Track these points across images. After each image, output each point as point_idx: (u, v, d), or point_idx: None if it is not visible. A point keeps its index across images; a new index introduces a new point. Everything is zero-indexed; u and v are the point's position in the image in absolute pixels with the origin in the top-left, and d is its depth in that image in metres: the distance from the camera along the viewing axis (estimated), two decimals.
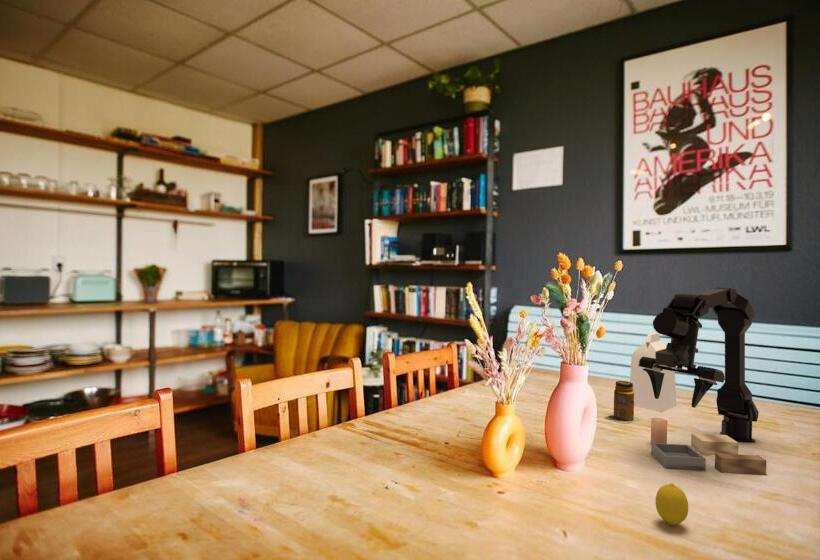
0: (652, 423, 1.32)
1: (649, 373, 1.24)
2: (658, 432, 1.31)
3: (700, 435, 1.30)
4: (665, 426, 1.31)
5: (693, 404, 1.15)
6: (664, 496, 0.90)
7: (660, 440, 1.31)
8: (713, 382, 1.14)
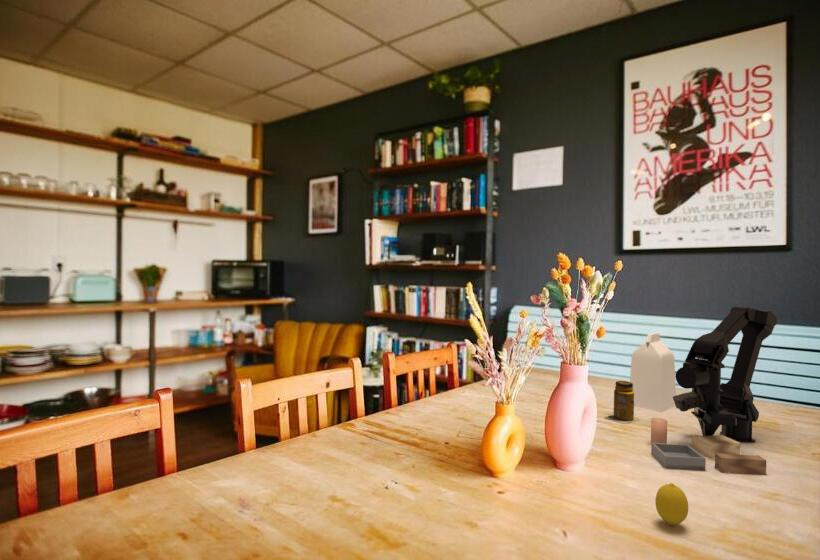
0: (652, 423, 1.32)
1: (695, 416, 1.34)
2: (658, 432, 1.31)
3: (702, 438, 1.28)
4: (665, 426, 1.31)
5: None
6: (664, 496, 0.90)
7: (660, 440, 1.31)
8: None
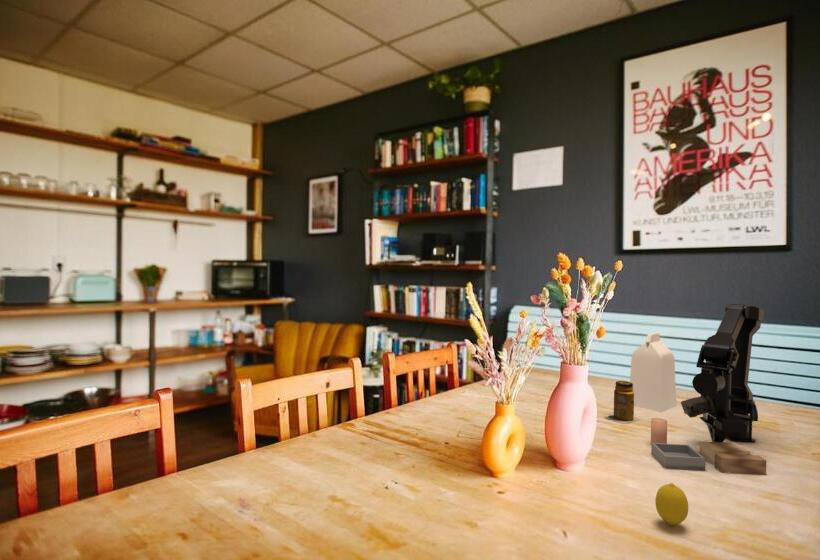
0: (652, 423, 1.32)
1: (704, 422, 1.29)
2: (658, 432, 1.31)
3: (709, 443, 1.24)
4: (665, 426, 1.31)
5: None
6: (664, 496, 0.90)
7: (660, 440, 1.31)
8: None
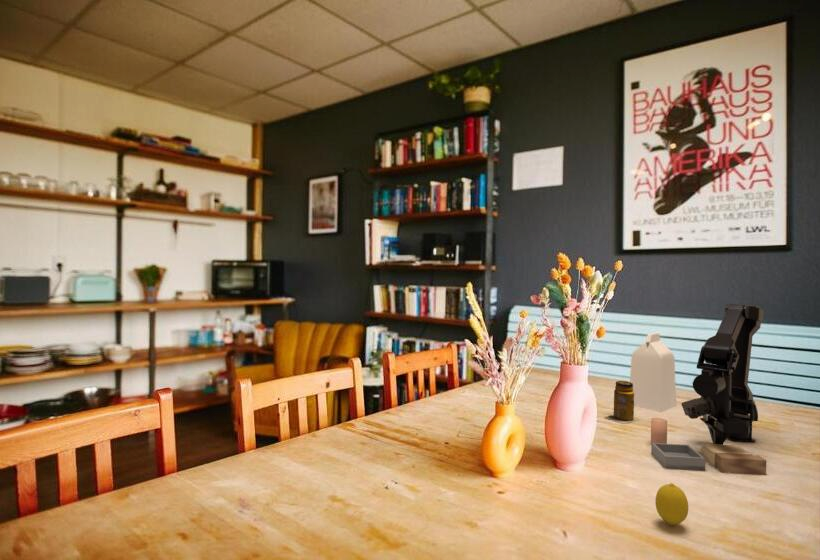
0: (652, 423, 1.32)
1: (705, 423, 1.29)
2: (658, 432, 1.31)
3: (711, 445, 1.22)
4: (665, 426, 1.31)
5: None
6: (664, 496, 0.90)
7: (660, 440, 1.31)
8: None
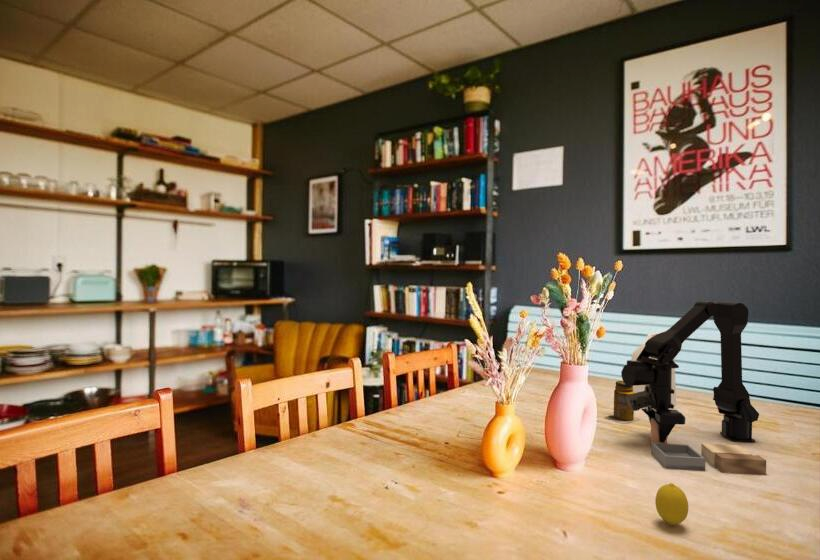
0: (652, 423, 1.32)
1: (646, 413, 1.37)
2: None
3: (711, 445, 1.22)
4: None
5: (659, 439, 1.30)
6: (664, 496, 0.90)
7: None
8: None
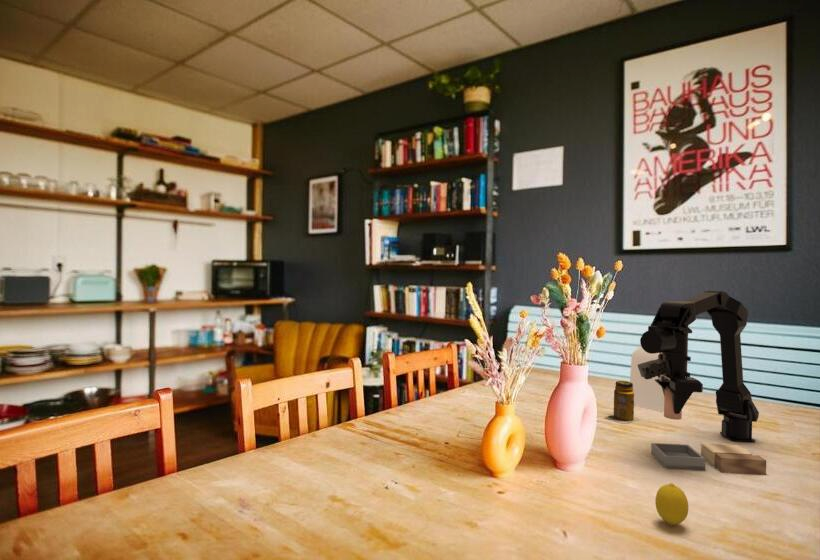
0: (666, 393, 1.22)
1: (659, 384, 1.27)
2: (672, 402, 1.21)
3: (711, 445, 1.22)
4: None
5: (674, 411, 1.20)
6: (664, 497, 0.90)
7: None
8: None
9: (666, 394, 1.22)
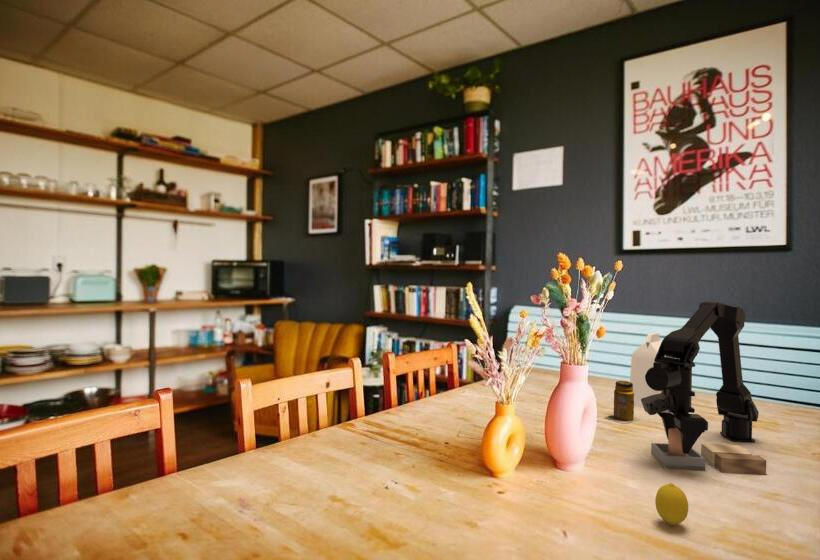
0: (670, 434, 1.21)
1: (659, 415, 1.27)
2: (676, 444, 1.19)
3: (711, 445, 1.22)
4: None
5: (683, 450, 1.16)
6: (664, 496, 0.90)
7: (678, 453, 1.19)
8: (694, 430, 1.13)
9: (670, 435, 1.20)
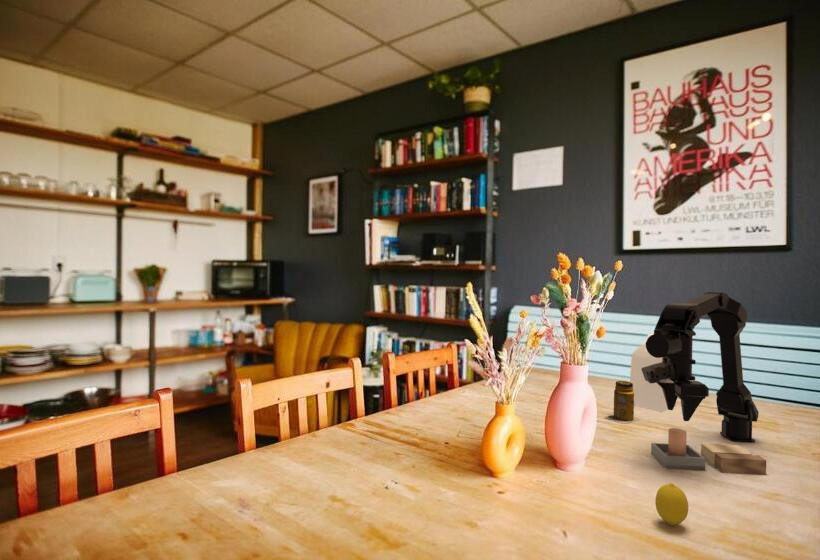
0: (670, 434, 1.21)
1: (659, 385, 1.27)
2: (676, 444, 1.19)
3: (711, 445, 1.22)
4: (684, 438, 1.19)
5: (683, 418, 1.16)
6: (664, 496, 0.90)
7: (678, 453, 1.19)
8: (695, 396, 1.12)
9: (670, 435, 1.20)
